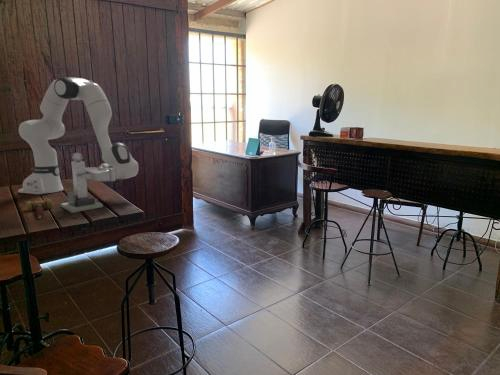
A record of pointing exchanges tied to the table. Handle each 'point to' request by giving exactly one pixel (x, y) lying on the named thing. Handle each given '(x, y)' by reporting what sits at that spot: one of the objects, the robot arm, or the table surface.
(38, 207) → the gavel
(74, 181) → the steel link
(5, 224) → the table surface
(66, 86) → the robot arm
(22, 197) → the table surface
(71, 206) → the keeper bracket
